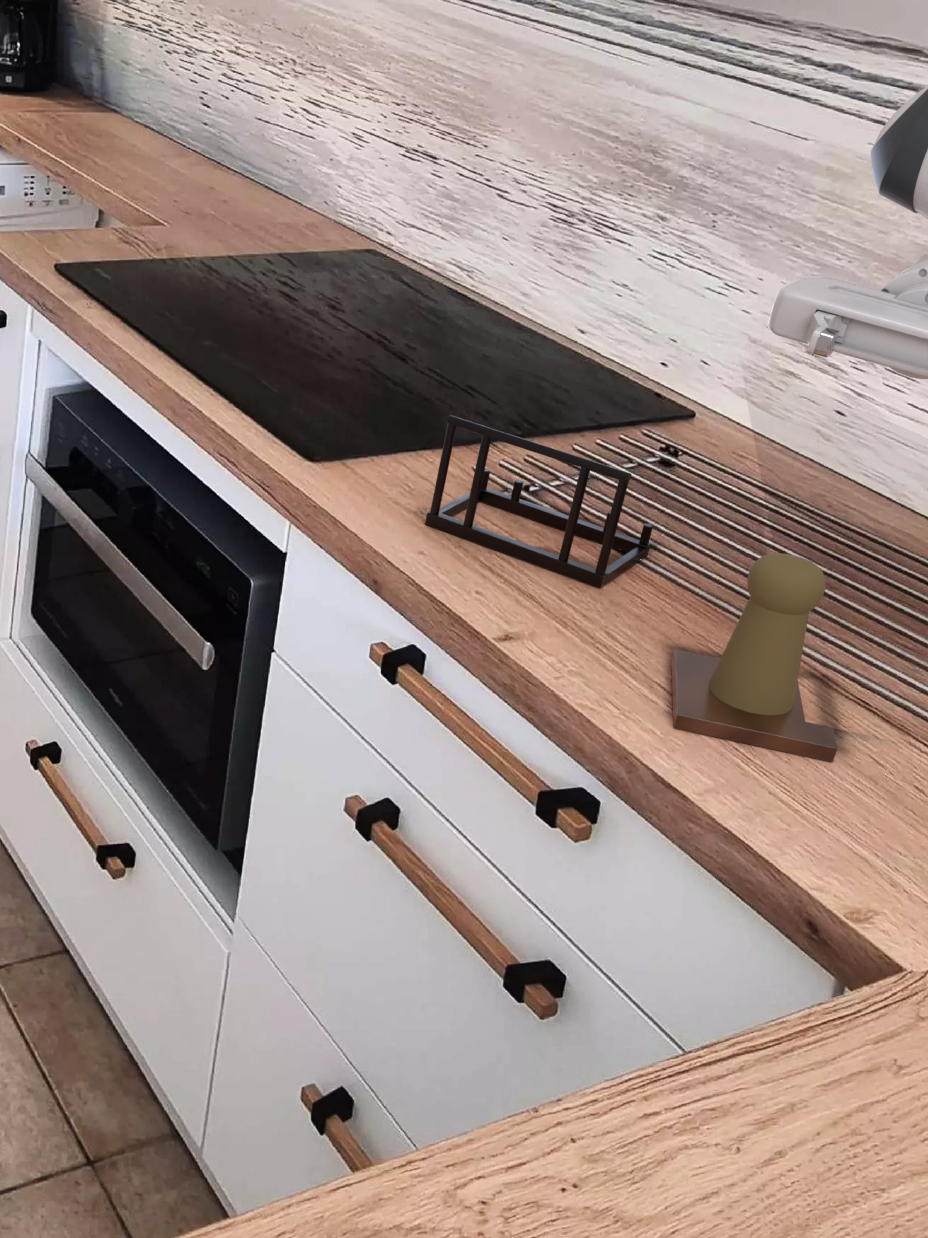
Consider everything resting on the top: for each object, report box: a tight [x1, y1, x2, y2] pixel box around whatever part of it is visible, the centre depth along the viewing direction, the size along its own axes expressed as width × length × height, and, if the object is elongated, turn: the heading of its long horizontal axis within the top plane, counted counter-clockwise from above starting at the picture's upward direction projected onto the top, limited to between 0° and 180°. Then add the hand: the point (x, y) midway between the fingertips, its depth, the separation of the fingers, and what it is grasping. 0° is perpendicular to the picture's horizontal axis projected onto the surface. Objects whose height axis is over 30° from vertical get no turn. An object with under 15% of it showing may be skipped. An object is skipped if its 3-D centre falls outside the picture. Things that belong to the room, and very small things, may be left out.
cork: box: [709, 552, 826, 715], centre depth 122 cm, size 6×6×11 cm
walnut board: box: [670, 649, 838, 763], centre depth 124 cm, size 11×11×1 cm
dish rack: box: [424, 415, 654, 589], centre depth 147 cm, size 10×17×10 cm, turn 51°
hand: (884, 363), depth 122 cm, fingers open, 8 cm apart
